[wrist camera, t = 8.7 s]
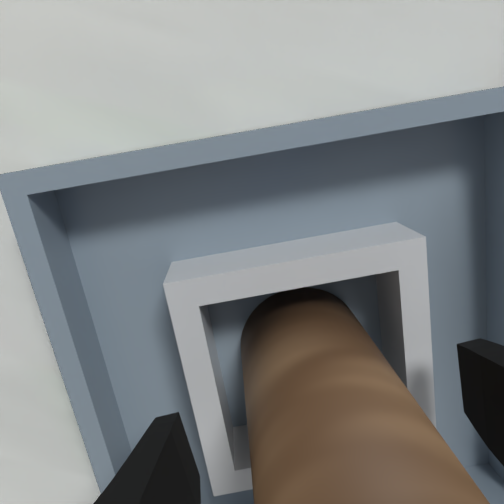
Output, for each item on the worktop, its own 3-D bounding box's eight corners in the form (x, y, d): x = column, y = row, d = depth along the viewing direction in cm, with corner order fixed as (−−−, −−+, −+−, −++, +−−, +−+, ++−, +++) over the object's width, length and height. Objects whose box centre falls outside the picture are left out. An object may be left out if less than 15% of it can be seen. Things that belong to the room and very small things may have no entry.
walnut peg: (347, 273, 14) (511, 459, 6) (368, 378, 15) (529, 650, 7) (226, 305, 14) (233, 532, 6) (256, 407, 15) (294, 710, 7)
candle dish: (487, 89, 13) (555, 77, 10) (491, 457, 17) (542, 518, 14) (37, 167, 13) (-12, 176, 10) (145, 523, 17) (130, 598, 14)
